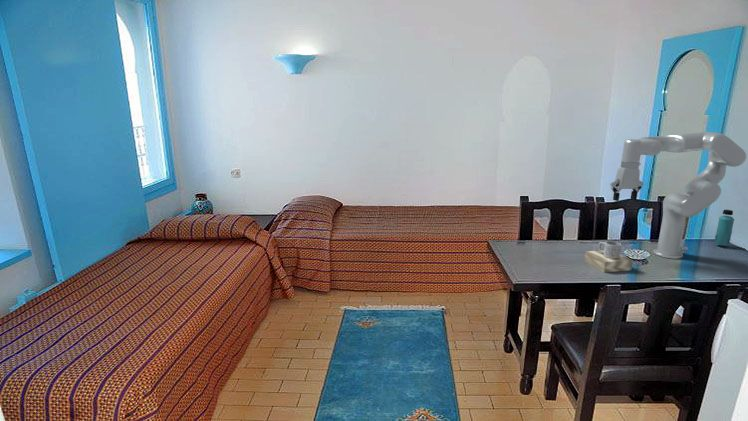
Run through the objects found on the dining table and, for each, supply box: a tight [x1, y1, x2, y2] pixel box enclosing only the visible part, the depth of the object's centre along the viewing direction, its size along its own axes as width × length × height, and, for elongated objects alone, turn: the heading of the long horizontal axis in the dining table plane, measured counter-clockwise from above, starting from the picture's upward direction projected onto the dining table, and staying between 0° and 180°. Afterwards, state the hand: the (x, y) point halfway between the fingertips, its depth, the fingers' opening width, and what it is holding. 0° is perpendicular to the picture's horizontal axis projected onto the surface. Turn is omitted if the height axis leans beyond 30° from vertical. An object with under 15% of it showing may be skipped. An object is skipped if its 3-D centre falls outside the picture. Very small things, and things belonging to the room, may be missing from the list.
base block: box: [584, 250, 633, 273], centre depth 204 cm, size 14×14×5 cm
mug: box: [598, 240, 622, 259], centre depth 202 cm, size 10×7×7 cm
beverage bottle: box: [714, 209, 735, 247], centre depth 228 cm, size 6×7×20 cm
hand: (624, 200), depth 212 cm, fingers open, 9 cm apart
